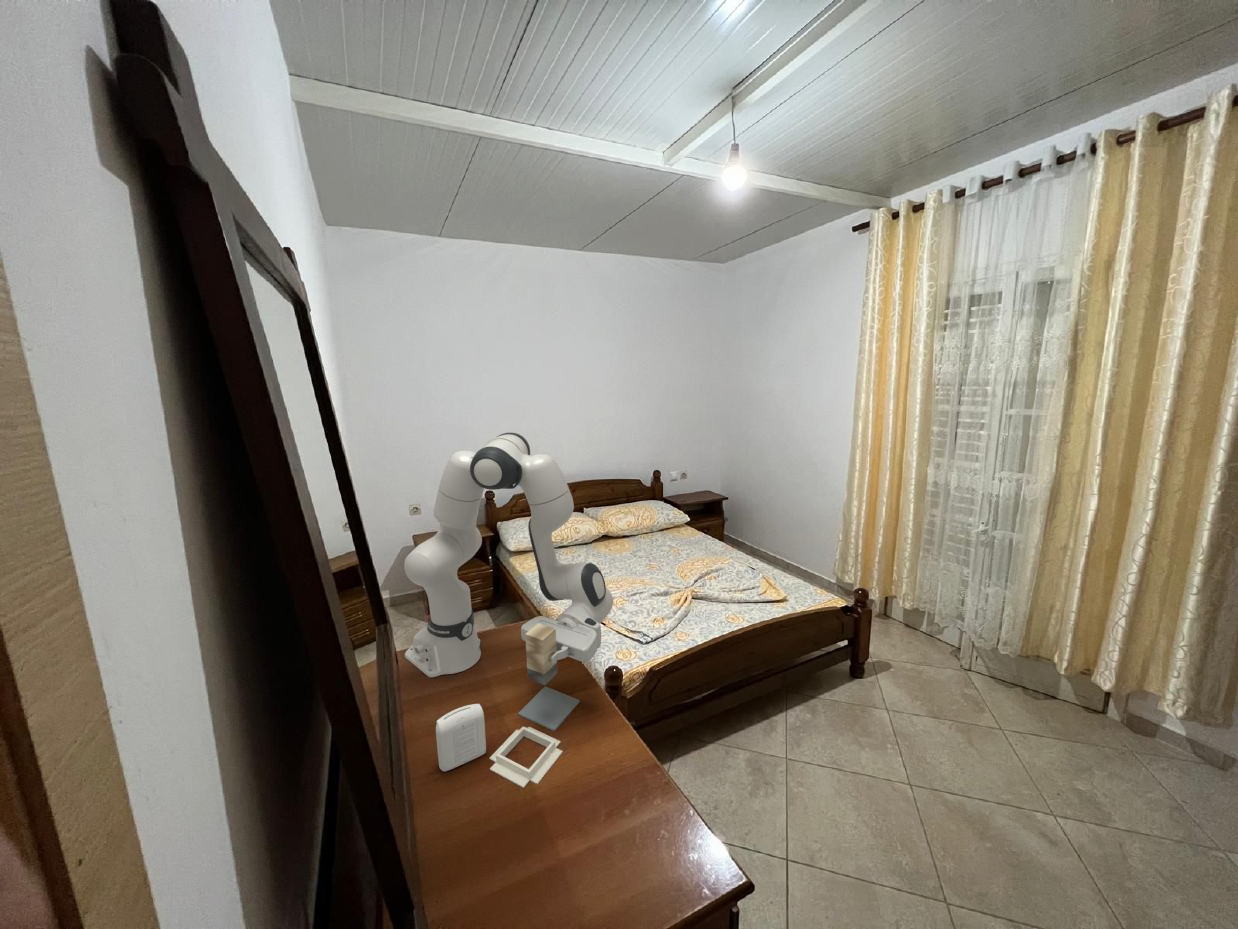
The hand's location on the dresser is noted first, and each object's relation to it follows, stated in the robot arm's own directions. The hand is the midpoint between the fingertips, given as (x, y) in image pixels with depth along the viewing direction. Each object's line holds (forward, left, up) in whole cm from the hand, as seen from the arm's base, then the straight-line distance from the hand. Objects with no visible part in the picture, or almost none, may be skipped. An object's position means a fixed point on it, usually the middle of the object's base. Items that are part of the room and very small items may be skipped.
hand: (539, 655), depth 111 cm
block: (0, +1, -6) cm, 6 cm away
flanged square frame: (+3, -10, -18) cm, 21 cm away
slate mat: (-1, +4, -18) cm, 18 cm away
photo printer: (-9, -17, -18) cm, 26 cm away
